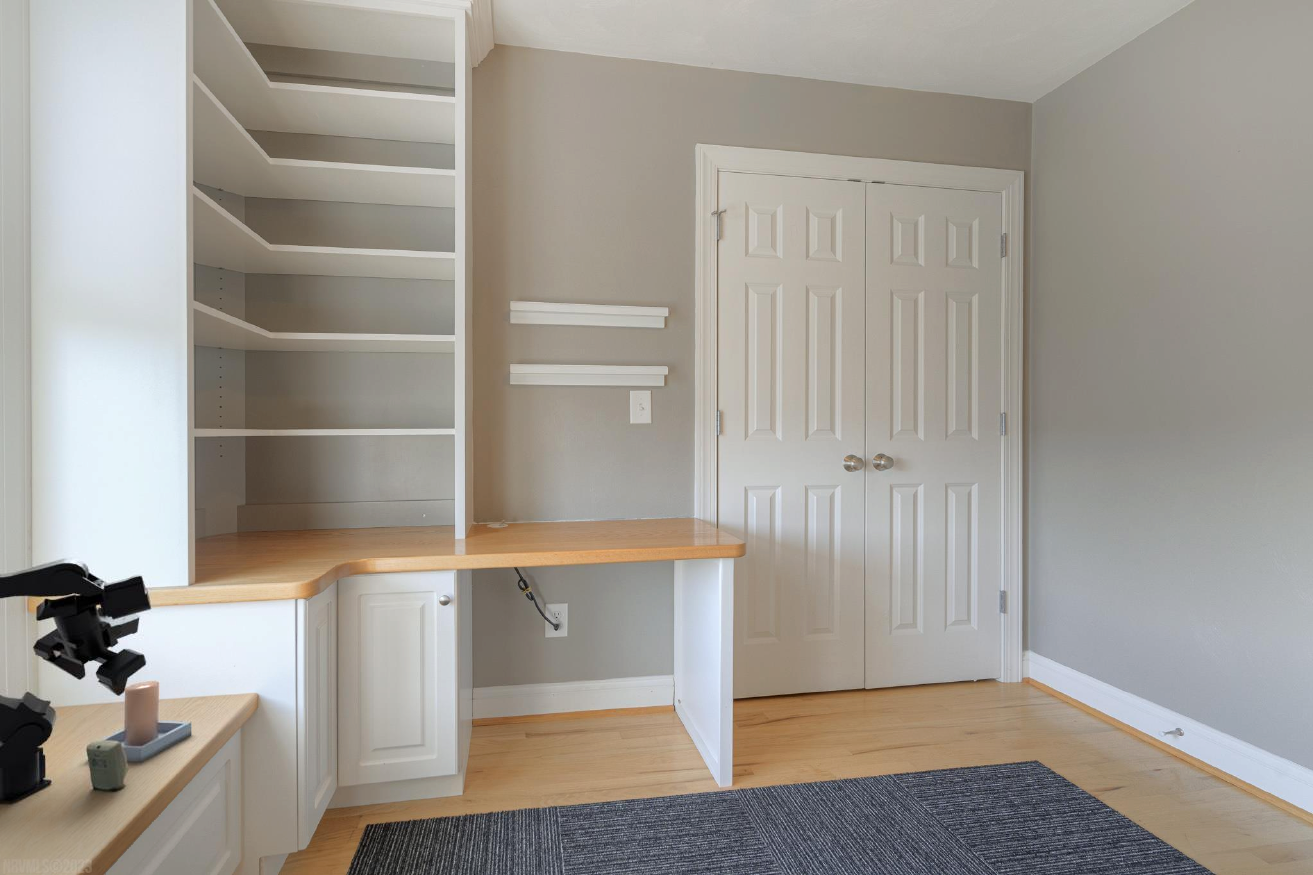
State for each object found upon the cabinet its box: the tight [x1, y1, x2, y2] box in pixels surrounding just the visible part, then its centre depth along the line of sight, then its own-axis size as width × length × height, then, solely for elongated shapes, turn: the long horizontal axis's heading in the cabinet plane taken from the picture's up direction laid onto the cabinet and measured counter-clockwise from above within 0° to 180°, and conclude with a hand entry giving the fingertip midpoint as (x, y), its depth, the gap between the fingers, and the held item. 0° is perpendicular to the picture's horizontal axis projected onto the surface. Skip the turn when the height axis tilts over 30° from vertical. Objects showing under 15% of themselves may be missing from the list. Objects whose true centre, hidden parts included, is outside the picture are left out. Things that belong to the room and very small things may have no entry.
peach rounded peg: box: [123, 680, 160, 746], centre depth 125 cm, size 5×5×11 cm
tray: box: [98, 720, 192, 763], centre depth 125 cm, size 11×11×2 cm
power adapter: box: [86, 740, 129, 792], centre depth 110 cm, size 6×5×8 cm
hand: (101, 685), depth 122 cm, fingers open, 9 cm apart
